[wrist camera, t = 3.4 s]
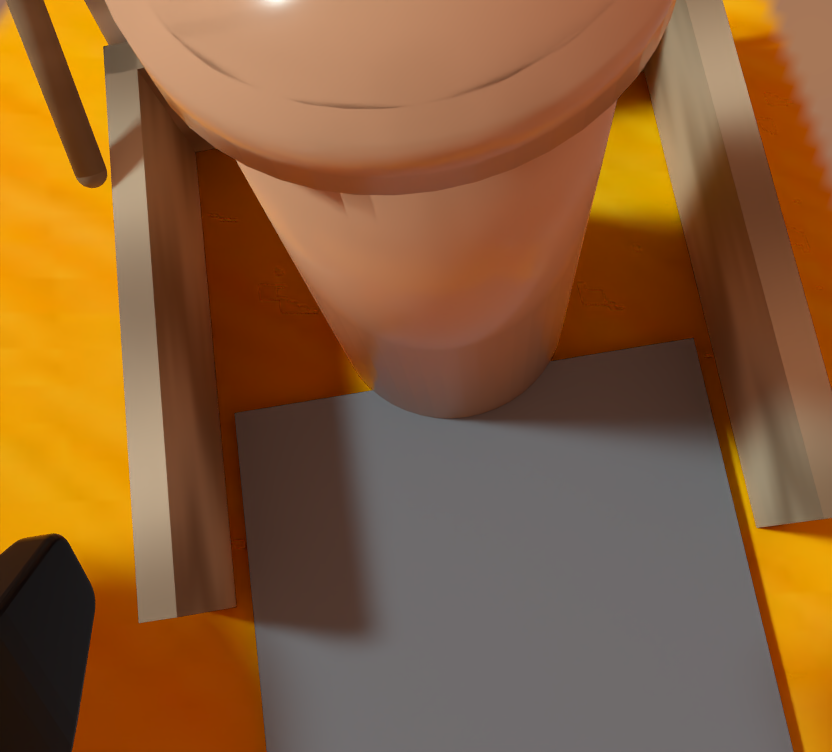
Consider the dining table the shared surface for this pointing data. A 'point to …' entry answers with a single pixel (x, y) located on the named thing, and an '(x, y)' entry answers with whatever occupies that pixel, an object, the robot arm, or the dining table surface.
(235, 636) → the dining table surface
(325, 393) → the dining table surface
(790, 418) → the brown open rectangular box
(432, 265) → the pink lidded canister
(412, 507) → the mat
